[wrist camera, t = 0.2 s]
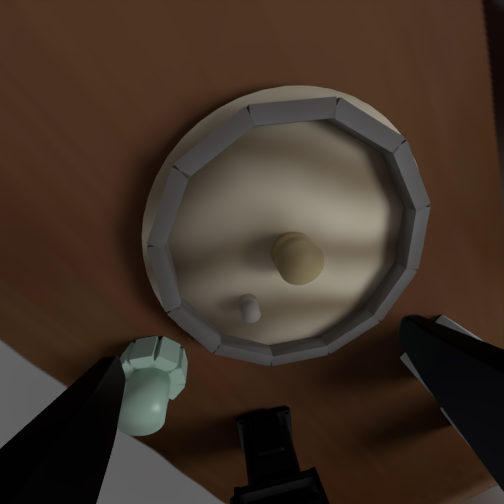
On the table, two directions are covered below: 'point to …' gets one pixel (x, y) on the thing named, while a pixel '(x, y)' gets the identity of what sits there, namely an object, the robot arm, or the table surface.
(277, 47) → the table surface
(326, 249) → the carrier plate
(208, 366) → the table surface
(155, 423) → the pale green domed piece
